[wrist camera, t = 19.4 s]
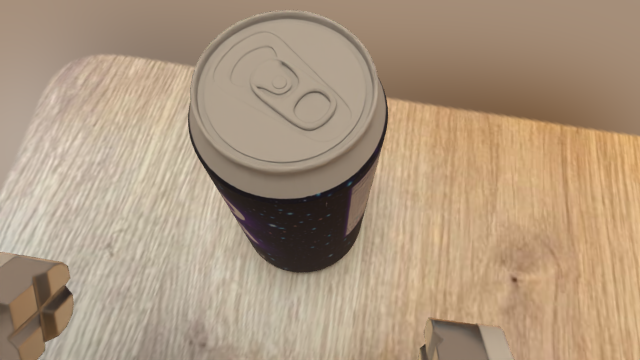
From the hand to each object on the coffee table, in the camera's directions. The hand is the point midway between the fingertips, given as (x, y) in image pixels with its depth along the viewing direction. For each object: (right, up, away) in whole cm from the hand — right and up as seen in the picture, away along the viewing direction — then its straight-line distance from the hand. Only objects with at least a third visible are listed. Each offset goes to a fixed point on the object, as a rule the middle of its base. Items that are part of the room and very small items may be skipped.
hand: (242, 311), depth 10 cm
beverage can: (+1, +1, +13) cm, 13 cm away
